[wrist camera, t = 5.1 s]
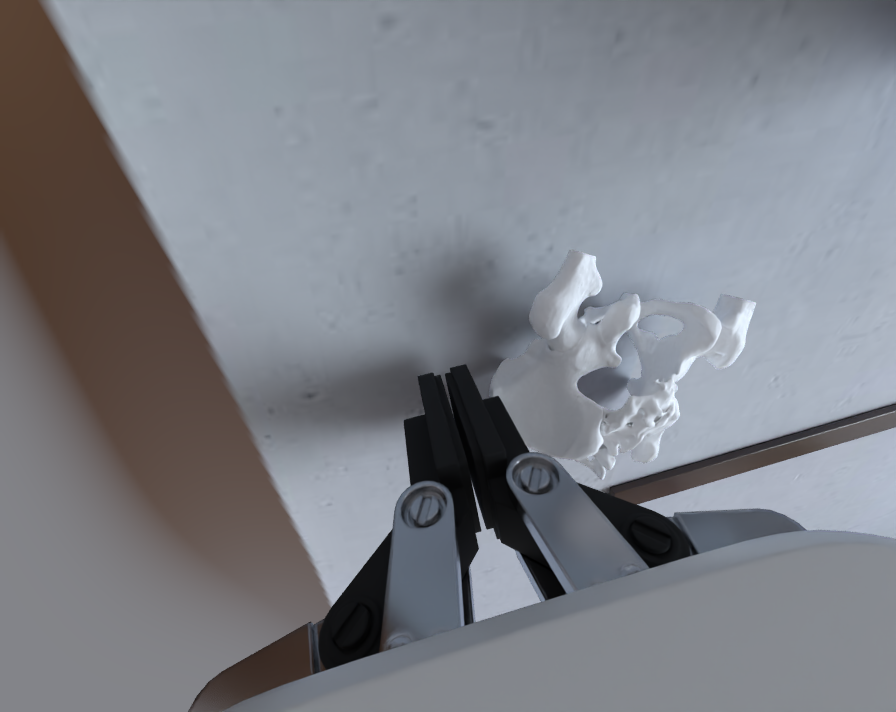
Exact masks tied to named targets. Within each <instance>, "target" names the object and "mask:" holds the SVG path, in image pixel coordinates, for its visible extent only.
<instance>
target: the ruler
mask: <svg viewBox="0 0 896 712" xmlns="http://www.w3.org/2000/svg"><path fill="white" fill-rule="evenodd" d="M894 427H896V404H895V405H892V406H888V407H885V408H881V409H878V410H874V411H871V412H868V413H864V414H861V415H857V416H854V417H851V418H847V419H844V420H840V421H837V422H834V423H830V424H827V425H823V426H820V427H816V428H813V429H810V430H806V431H803V432H799V433H796V434H793V435H789V436H786V437H782V438H779V439H776V440H772V441H769V442H765V443H762V444H759V445H755V446H752V447H748V448H745V449H741V450H738V451H735V452H731V453H728V454H724V455H721V456H718V457H714V458H711V459H707V460H704V461H701V462H697V463H694V464H690V465H687V466H683V467H680V468H677V469H673V470H670V471H666V472H663V473H660V474H656V475H653V476H649V477H646V478H643V479H639V480H636V481H632V482H629V483H625V484H622V485H619V486H615V487H612V488H610V495H612V496H614V497H617V498H620V499H622V500H625V501H628V502H631V503H633V504H636V505H637V504H640V503H644V502H647V501H650V500H654V499H657V498H660V497H664V496H667V495H670V494H674V493H677V492H680V491H684V490H687V489H690V488H694V487H697V486H700V485H704V484H707V483H710V482H714V481H717V480H721V479H724V478H727V477H731V476H734V475H737V474H741V473H744V472H747V471H751V470H754V469H757V468H761V467H764V466H767V465H771V464H774V463H777V462H781V461H784V460H787V459H791V458H794V457H797V456H801V455H804V454H807V453H811V452H814V451H818V450H821V449H824V448H828V447H831V446H834V445H838V444H841V443H844V442H848V441H851V440H854V439H858V438H861V437H864V436H868V435H871V434H874V433H878V432H881V431H884V430H888V429H891V428H894Z"/></svg>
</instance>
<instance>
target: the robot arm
mask: <svg viewBox="0 0 896 712" xmlns="http://www.w3.org/2000/svg"><path fill="white" fill-rule="evenodd" d="M445 377H446V382H447V386H448V391H449V396H450V401H451V406H452V410H453V413H452V410H451V407H450V404H449V401H448V397H447V394H446V391H445V388H444V385H443V382H442V378H441V375H438V376H434V373H433V372H432V373H428V374H424V375H420V376H418V381H419V386H420V391H421V396H422V401H423V406H424V411H425V415H421V416H417V417H413V418H409V419H405V420H404V429H405V438H406V447H407V456H408V466H409V475H410V484H411V486H410V487H408V488H407V489H406V490H405V491H404V492H403V493H402V494H401V496H400V497H399V499H398V501H397V503H396V507H395V511H394V520H393V529H392V530H391V532H390V533H389V534H388V536H387V537H386V538H385V539H384V541H383V542H382V543H381V545H380V546H379V547H378V548H377V550H376V551H375V552H374V554H373V555H372V556H371V557H370V559H369V560H368V561H367V563H366V564H365V565H364V566H363V568H362V569H361V570H360V572H359V573H358V574H357V575H356V577H355V578H354V579H353V581H352V582H351V583H350V584H349V586H348V587H347V588H346V590H345V591H344V592H343V593H342V595H341V596H340V597H339V599H338V600H337V601H336V602H335V604H334V605H333V606H332V608H331V609H330V611H329V613H328V614H327V616H326V617H325V619H323V620H321V621H319V622H318V623H316V624H314V625H313V623H311V622H309V623H307V624H305V625H303V626H302V627H300V628H298V629H296V630H295V631H293V632H291V633H289V634H287V635H286V636H284V637H282V638H281V639H279V640H277V641H275V642H273V643H272V644H270V645H268V646H266V647H264V648H263V649H261V650H259V651H258V652H256V653H254V654H252V655H250V656H249V657H247V658H245V659H243V660H241V661H240V662H238V663H236V664H234V665H233V666H231V667H229V668H227V669H226V670H224V671H222V672H221V673H219V674H218V675H217V676H216V677H215V678H213V679H212V680H210V681H209V682H208V683H207V685H206V686H205V687H204V688H203V689H202V690H201V692H200V693H199V694H198V695H197V697H196V698H195V700H194V702H193V704H192V706H191V707H190V709H189V711H188V712H896V539H894V538H890V537H884V536H878V535H873V534H865V533H857V532H848V531H830V530H809V531H807V530H806V529H805V528H803V527H802V526H801V525H800V524H799V523H798V522H796V521H794V520H792V519H791V518H789V517H787V516H785V515H783V514H780V513H777V512H775V511H772V510H766V509H738V510H718V511H697V512H676V513H674V516H673V517H665V516H663V515H661V514H659V513H657V512H655V511H652V510H649V509H647V508H644V507H641V506H639V505H636V504H633V503H631V502H628V501H625V500H622V499H620V498H617V497H614V496H612V495H609V494H606V493H604V492H601V491H598V490H596V489H593V488H590V487H587V486H585V485H582V484H579V483H577V482H575V480H574V479H573V478H572V477H571V476H570V475H569V473H568V472H567V471H566V470H565V469H564V468H563V466H562V465H561V464H560V463H559V462H558V461H556V460H555V459H554V458H552V457H550V456H548V455H546V454H542V453H538V452H529V450H528V448H527V446H526V445H525V443H524V441H523V439H522V437H521V435H520V434H519V432H518V430H517V428H516V426H515V424H514V423H513V421H512V419H511V417H510V415H509V413H508V412H507V410H506V408H505V406H504V404H503V402H502V401H501V399H500V397H499V396H495V397H491V398H487V399H483V400H482V398H481V395H480V393H479V391H478V389H477V387H476V385H475V383H474V380H473V378H472V376H471V374H470V372H469V370H468V367H467V365H466V364H465V365H460V366H456V367H452V368H450V373H446V374H445ZM453 415H454V417H453ZM471 481H472V482H471ZM472 484H473V487H474V490H475V494H476V497H477V500H478V503H479V507H480V510H481V513H482V516H483V520H484V523H485V526H486V529H491V528H494V531H495V534H496V537H497V539H500V540H501V543H503V544H505V545H507V546H509V547H511V548H513V549H514V550H515V552H516V555H517V558H518V559H519V561H520V563H521V565H522V567H523V569H524V571H525V573H526V575H527V576H528V578H529V580H530V582H531V584H532V586H533V588H534V590H535V592H536V593H537V595H538V597H539V599H540V601H541V602H540V603H536V604H533V605H530V606H527V607H524V608H520V609H517V610H514V611H511V612H508V613H504V614H501V615H498V616H495V617H492V618H488V619H485V620H482V621H479V622H476V621H475V610H474V599H473V589H472V578H471V569H470V564H471V562H472V560H473V559H474V557H475V555H476V553H477V551H478V550H479V548H478V543H477V538H476V534H475V533H477V532H480V531H481V527H480V522H479V517H478V512H477V507H476V502H475V497H474V492H473V487H472Z"/></svg>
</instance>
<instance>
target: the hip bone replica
mask: <svg viewBox="0 0 896 712" xmlns="http://www.w3.org/2000/svg"><path fill="white" fill-rule="evenodd" d="M595 261H596V257H595V256H593V255H590V254H586V253H583V252H579V251H575V250H570V251H569V252H568V255H567V257H566V259H565V261H564V263H563V265H562V267H561V269H560V271H559V272H558V274H557V276H556V277H555V279H554V280H553V281H552V282H551V283H550V284H549V285H548V286H547V287H546V288H545V289H544V290H542V291H541V292H539V293H538V294H537V295H536V297H535V300H534V303H533V305H532V308H531V310H530V313H529V322H530V323H531V325H532V327H533V330H534V331H535V332H536V333H537V334H538V335H539V336H540V337H542V338H541V339H534V340H533V341H531V342H530V344H529V346H528V348H527V350H526V352H525V353H524V354H523V355H521V356H519V357H517V358H514V359H510V358H506V359H505V360H504V361H502V362H501V364H500V365H499V367H498V369H497V371H496V373H495V374H494V376H493V378H492V380H491V383H490V388H489V398H491V397H495V396H499V397H500V399H501V401H502V402H503V404H504V406H505V408H506V410H507V412H508V413H509V415H510V417H511V419H512V421H513V423H514V424H515V426H516V428H517V430H518V432H519V434H520V435H521V437H522V439H523V441H524V443H525V445H526V446H528V447H529V448H531V449H533V450H535V451H538V452H540V453H542V454H546V455H549V456H551V457H556V458H560V459H568V460H575V461H576V462H580V463H582V464H584V465H585V466H587V467H588V468H590V469H591V470H592V471H593V472H594V473H596V475H597V476H598V477H599V478H600V479H601V480H603V479H604V477H605V475H606V471H605V468H606V469H607V470H611V469H612V468H613V467H614V464H615V458H614V457H613V456H616V455H618V448H619V447H621V448H620V453H625V452H628V451H630V450H631V458H632V460H634V461H635V462H641V463H648V462H651V461H653V460H654V459H655V458H656V457H657V455H658V452H659V443H660V439H661V436H662V434H663V432H664V430H665V429H666V428H669V427H670V426H671V425H673V424H674V423H675V422H676V420H677V419H678V418H679V416H680V411H679V405H678V402H677V400H676V398H675V397H674V394H675V392H676V391H677V390H678V387H677V385H676V384H675V382H677V381H678V380H680V379H681V378H682V377H683V376H684V375H685V373H686V372H687V371H688V369H689V368H690V366H691V364H692V363H693V361H694V360H695V359H697V358H700V357H704V358H705V359H706V360H707V361H708V362H709V363H710V364H711V365H712V366H714V367H715V368H716V369H717V370H719V369H723V368H726V367H728V366H729V365H731V364H732V363H733V362H734V361H735V360H736V359H737V357H738V356H739V354H740V353H741V351H742V350H743V348H744V346H745V342H746V333H747V329H748V326H749V323H750V320H751V317H752V314H753V311H754V308H755V305H756V303H755V302H752V301H749V300H745V299H742V298H738V297H734V296H730V295H726V294H721V295H720V297H719V299H718V302H717V304H716V307H715V309H714V310H713V312H710V311H709V310H708V309H707V308H705V307H703V306H701V305H698V304H694V303H691V302H673V301H668V300H663V299H652V300H648V301H645V302H640V300H639V297H638V294H635V293H634V294H629V293H627V292H626V293H623V294H622V296H621V298H620V300H619V301H617V302H615V303H613V304H611V305H607V306H604V307H597V308H595V307H591V306H589V307H587V308H585V309H584V315H583V316H582V317H580V318H577V314H578V310H579V307H580V305H581V303H582V302H583V301H584V300H585V299H586V298H587V297H591V296H595V295H597V294H598V293H599V292H600V290H601V288H602V279H601V277H600V275H599V273H598V271H597V268H596V264H595ZM649 315H663V316H670V317H673V318H676V319H678V320H680V321H681V322H682V323H683V324H684V327H683V330H682V331H681V332H680V333H679V334H677V335H668V336H665V337H663V338H662V339H660V340H659V339H658V337H657V336H656V334H655V333H653V332H650V331H645V330H642V329H641V328H638V323H639V321H640V320H641V319H643V318H645V317H648V316H649ZM601 320H602V321H601ZM598 321H601V322H600V323H599V324H597V325H595V324H594V323H596V322H598ZM625 332H627V334H628V336H629V337H630V339H631V340H632V342H633V344H634V346H635V348H636V350H637V352H638V355H639V359H640V363H641V369H642V370H641V377H640V378H638V379H636V378H631V379H629V381H628V382H627V390H628V392H629V393H630V395H631V396H630V397H629V398H628V400H627V402H626V403H625V405H624V406H623V407H622V408H621V409H618V410H610V409H608V408H605V407H602V406H600V405H598V404H597V403H596V402H594V401H593V400H591V399H589V398H588V397H586V396H584V395H583V393H581V392H580V391H579V389H578V387H577V382H578V380H579V378H580V377H582V376H583V375H585V374H587V373H589V372H592V371H594V370H596V369H599V368H603V367H611V368H616V367H617V366H618V365H619V364H620V363H621V361H622V358H621V357H620V356H619V355H618V354H617V353H616V344H617V342H618V340H619V339H620V337H621V335H622V334H624V333H625ZM590 456H594V457H595V458H594V459H592V460H591V461H589V460H588V458H587V457H590ZM604 467H605V468H604Z"/></svg>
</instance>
